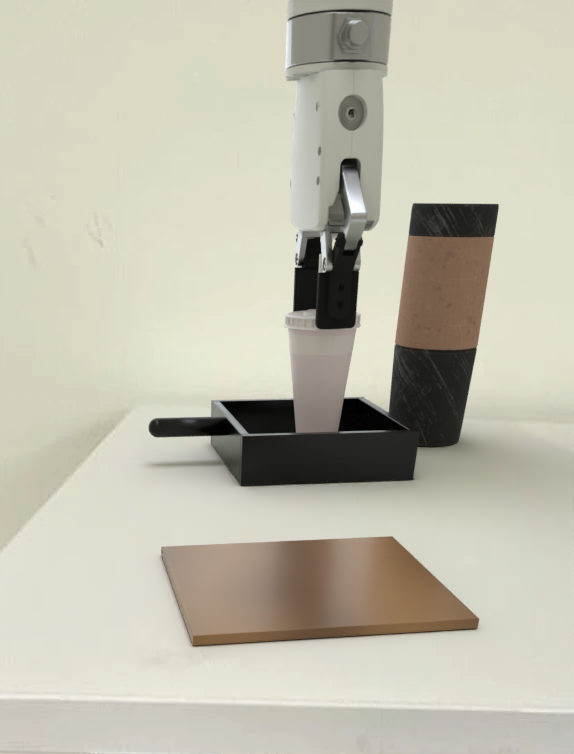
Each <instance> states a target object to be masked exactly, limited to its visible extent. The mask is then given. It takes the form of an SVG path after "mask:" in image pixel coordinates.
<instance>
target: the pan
mask: <svg viewBox="0 0 574 754" xmlns="http://www.w3.org/2000/svg"><path fill="white" fill-rule="evenodd" d="M147 429H148V432H149V434H150V435H151V436H152V437H154V438H157V439H158V438H181V437H182V438H187V437H189V438H190V437H191V438H193V437H210V444H211V446H212V447H213V449H214V450H215V451H216V453H217V454H218V456H219V458H220V459H221V460H222V461H223V463H224V464H225V466H226V467H227V468H228V470H229V471H230V473H231V474H232V475H233V477H234V478H235V480H236V481H237V482H238V484H239V485H240V486H241V487H247V486H249V487H250V486H275V485H276V486H277V485H301V484H302V485H304V484H329V483H331V484H332V483H333V484H334V483H357V482H359V483H360V482H385V481H386V482H387V481H388V482H390V481H412V480H414V476H415V468H416V463H417V455H418V449H419V448H418V447H419V446H418V441H419V434H420V431H418V430H417V429H415V428H413V427H412V426H410V425H408V424H407V423H405V422H403V421H402V420H400V419H398V418H397V417H395V416H394V415H392V414H390V413H389V411H387V410H385V409H383V408H382V407H381V406H380V405H377V404H376V403H374V402H373V401H371V400H368V399H367V398H365V396H344V400H343V406H342V411H341V417H340V422H339V428H338V432H307V433H296V426H295V413H294V399H293V397H291V398H290V397H288V398H287V397H286V398H246V399H244V398H243V399H239V398H237V399H211V401H210V416H187V417H186V416H184V417H181V416H179V417H155V418H153V419H151V420H150V421H149V423H148V428H147Z"/></svg>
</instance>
